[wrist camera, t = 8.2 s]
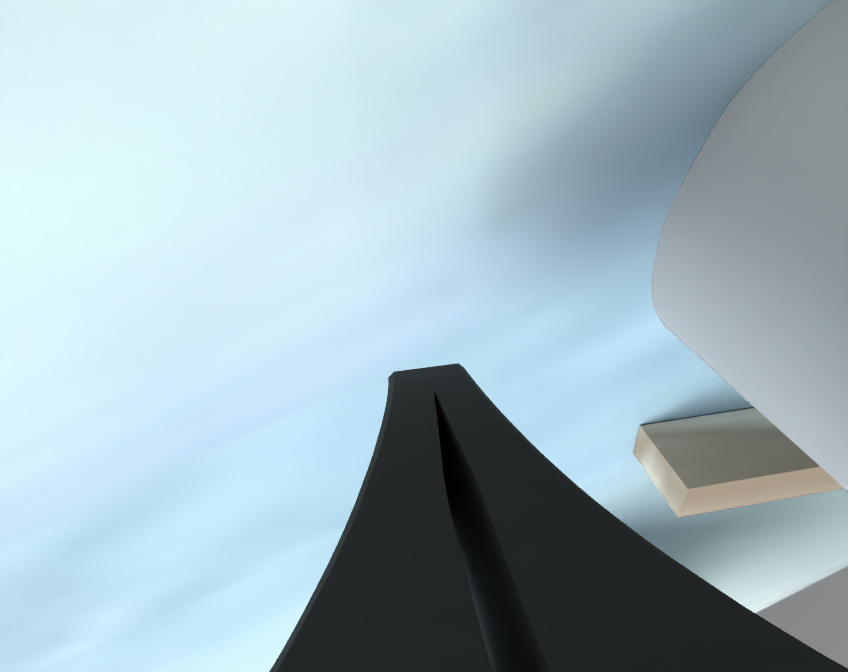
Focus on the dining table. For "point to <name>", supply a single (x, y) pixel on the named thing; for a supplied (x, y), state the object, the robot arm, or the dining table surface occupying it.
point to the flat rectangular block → (726, 462)
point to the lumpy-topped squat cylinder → (772, 243)
